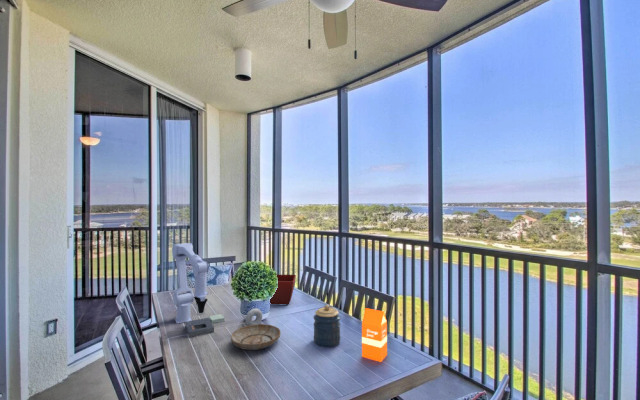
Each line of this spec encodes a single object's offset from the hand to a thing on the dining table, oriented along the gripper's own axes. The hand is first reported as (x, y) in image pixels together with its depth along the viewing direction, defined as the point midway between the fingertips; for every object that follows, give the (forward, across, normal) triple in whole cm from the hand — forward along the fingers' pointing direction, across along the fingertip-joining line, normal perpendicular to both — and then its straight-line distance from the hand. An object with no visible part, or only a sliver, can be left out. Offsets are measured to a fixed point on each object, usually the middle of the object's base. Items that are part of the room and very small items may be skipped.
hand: (200, 311), depth 157 cm
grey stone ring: (+11, -9, -26) cm, 29 cm away
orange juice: (+11, -66, -62) cm, 91 cm away
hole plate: (+10, +3, 0) cm, 11 cm away
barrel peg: (+1, 0, 0) cm, 1 cm away
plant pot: (+11, +23, -55) cm, 61 cm away
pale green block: (+10, +11, -10) cm, 18 cm away
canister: (+11, -44, -51) cm, 68 cm away
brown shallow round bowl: (+11, -28, -21) cm, 37 cm away
